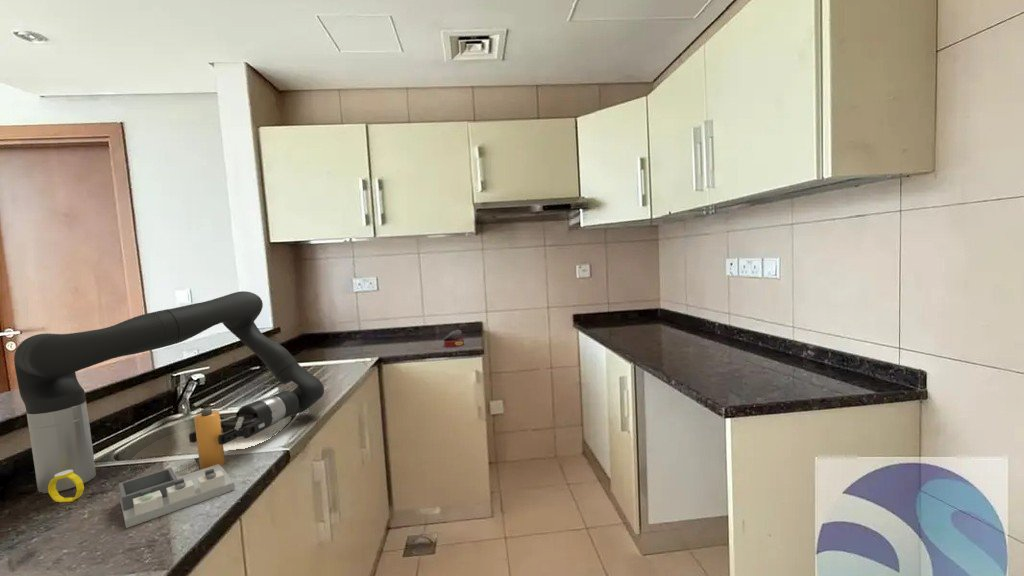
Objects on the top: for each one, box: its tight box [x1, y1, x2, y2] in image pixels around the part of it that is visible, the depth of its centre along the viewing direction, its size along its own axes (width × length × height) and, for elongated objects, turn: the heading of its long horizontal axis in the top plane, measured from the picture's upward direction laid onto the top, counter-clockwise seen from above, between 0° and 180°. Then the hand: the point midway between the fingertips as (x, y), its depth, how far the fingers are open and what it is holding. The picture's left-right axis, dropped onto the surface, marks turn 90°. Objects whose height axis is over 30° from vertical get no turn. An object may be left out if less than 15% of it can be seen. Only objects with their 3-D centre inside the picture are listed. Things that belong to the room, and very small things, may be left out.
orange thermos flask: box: [193, 407, 226, 470], centre depth 104 cm, size 5×5×13 cm
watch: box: [48, 470, 85, 503], centre depth 92 cm, size 6×3×6 cm, turn 91°
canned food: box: [443, 329, 465, 348], centre depth 229 cm, size 11×10×10 cm
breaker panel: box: [118, 464, 236, 529], centre depth 91 cm, size 13×17×4 cm
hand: (204, 439), depth 103 cm, fingers open, 8 cm apart
